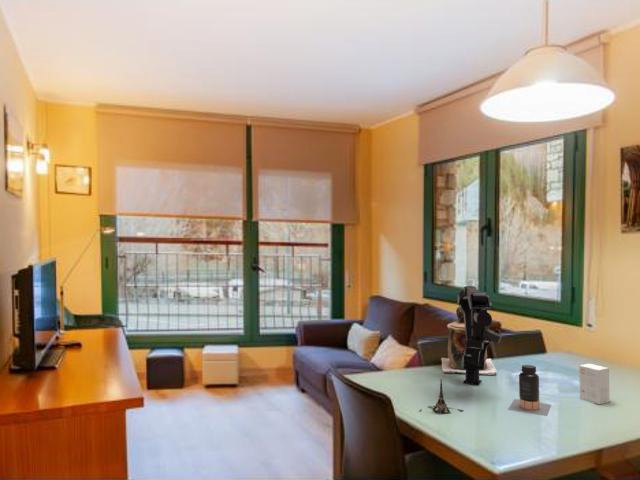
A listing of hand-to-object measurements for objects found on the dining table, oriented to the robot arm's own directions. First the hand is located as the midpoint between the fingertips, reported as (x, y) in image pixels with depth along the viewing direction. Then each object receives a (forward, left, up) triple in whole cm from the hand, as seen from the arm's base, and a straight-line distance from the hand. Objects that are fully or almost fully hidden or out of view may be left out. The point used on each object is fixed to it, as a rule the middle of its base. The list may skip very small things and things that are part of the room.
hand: (479, 362), depth 192 cm
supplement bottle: (+7, +19, -10) cm, 23 cm away
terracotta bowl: (+7, +19, -13) cm, 24 cm away
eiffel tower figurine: (+26, -7, -14) cm, 30 cm away
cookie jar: (-37, -14, -13) cm, 42 cm away
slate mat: (+7, +19, -13) cm, 24 cm away
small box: (-14, +39, -13) cm, 44 cm away
